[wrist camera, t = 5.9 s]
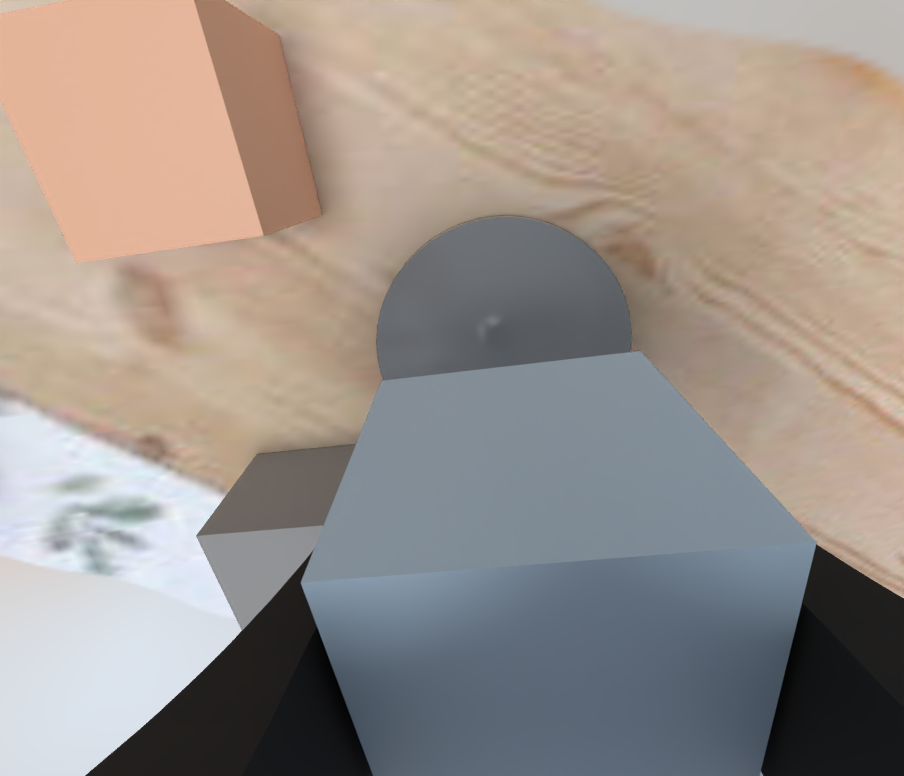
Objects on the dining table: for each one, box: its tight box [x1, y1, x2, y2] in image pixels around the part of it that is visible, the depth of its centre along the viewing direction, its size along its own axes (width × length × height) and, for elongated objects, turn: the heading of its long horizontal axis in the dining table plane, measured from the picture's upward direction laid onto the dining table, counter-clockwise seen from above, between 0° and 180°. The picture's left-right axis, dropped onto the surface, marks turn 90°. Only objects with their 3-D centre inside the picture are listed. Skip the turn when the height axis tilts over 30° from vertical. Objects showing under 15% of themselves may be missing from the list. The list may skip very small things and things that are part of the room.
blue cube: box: [301, 351, 817, 776], centre depth 8 cm, size 5×5×5 cm
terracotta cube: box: [0, 0, 322, 263], centre depth 13 cm, size 5×5×5 cm
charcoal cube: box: [196, 444, 356, 630], centre depth 19 cm, size 5×5×5 cm
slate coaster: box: [376, 216, 631, 380], centre depth 17 cm, size 9×9×1 cm
